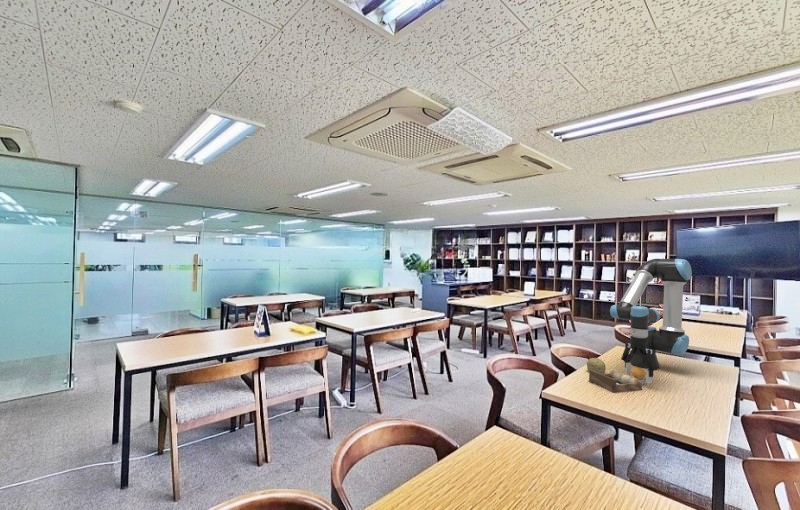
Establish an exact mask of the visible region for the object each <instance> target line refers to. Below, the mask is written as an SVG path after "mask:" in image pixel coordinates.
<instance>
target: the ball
mask: <svg viewBox="0 0 800 510" xmlns="http://www.w3.org/2000/svg"><path fill="white" fill-rule="evenodd" d="M631 375H632V377H635V378H637V379H645V377H646V376H647V372H646V371H645V370H644V368H642V367H638V366H635V367H633V368H631Z"/></svg>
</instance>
